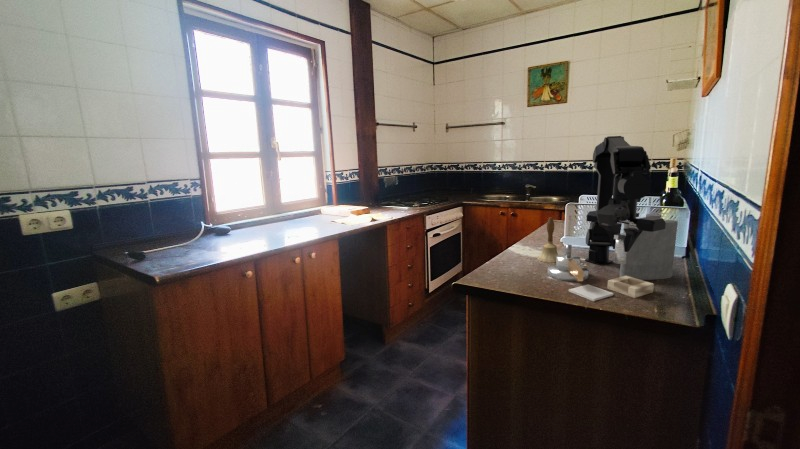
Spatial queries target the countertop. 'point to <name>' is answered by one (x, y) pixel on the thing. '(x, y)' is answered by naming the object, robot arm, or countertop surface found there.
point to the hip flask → (651, 253)
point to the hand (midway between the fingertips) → (620, 250)
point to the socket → (630, 286)
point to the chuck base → (564, 273)
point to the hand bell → (549, 245)
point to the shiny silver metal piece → (620, 249)
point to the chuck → (570, 263)
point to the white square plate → (590, 292)
